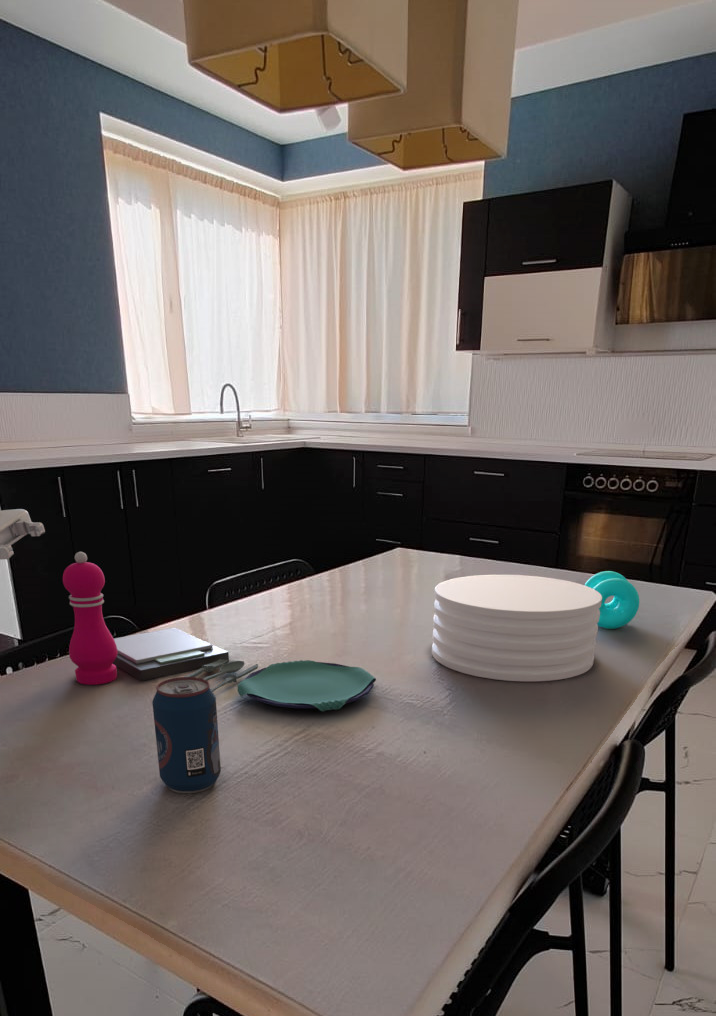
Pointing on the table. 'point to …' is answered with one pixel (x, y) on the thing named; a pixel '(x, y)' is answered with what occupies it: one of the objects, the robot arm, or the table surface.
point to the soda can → (186, 734)
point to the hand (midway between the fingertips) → (26, 540)
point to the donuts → (615, 599)
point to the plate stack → (515, 627)
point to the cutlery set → (297, 683)
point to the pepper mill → (89, 624)
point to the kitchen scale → (164, 653)
